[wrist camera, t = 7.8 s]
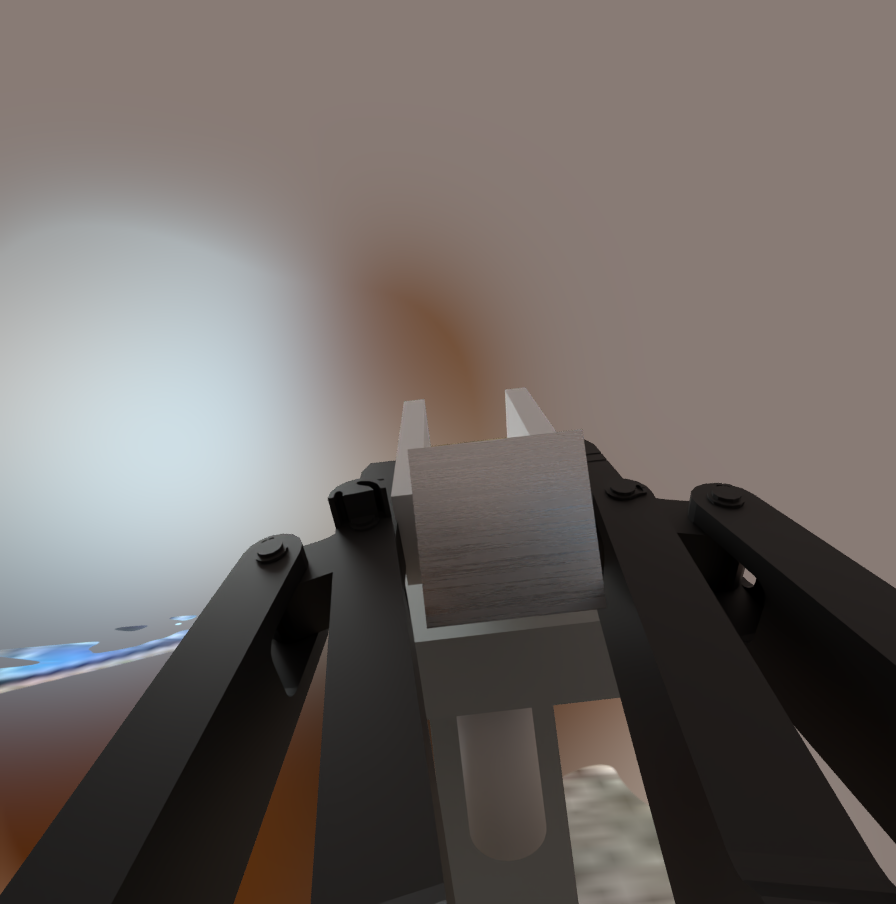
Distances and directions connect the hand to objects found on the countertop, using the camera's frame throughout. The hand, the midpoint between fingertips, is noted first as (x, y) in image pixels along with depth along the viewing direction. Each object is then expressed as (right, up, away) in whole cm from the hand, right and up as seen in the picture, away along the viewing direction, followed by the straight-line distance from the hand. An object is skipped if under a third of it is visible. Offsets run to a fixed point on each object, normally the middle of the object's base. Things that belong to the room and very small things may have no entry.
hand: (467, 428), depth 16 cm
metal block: (0, -4, 0) cm, 4 cm away
